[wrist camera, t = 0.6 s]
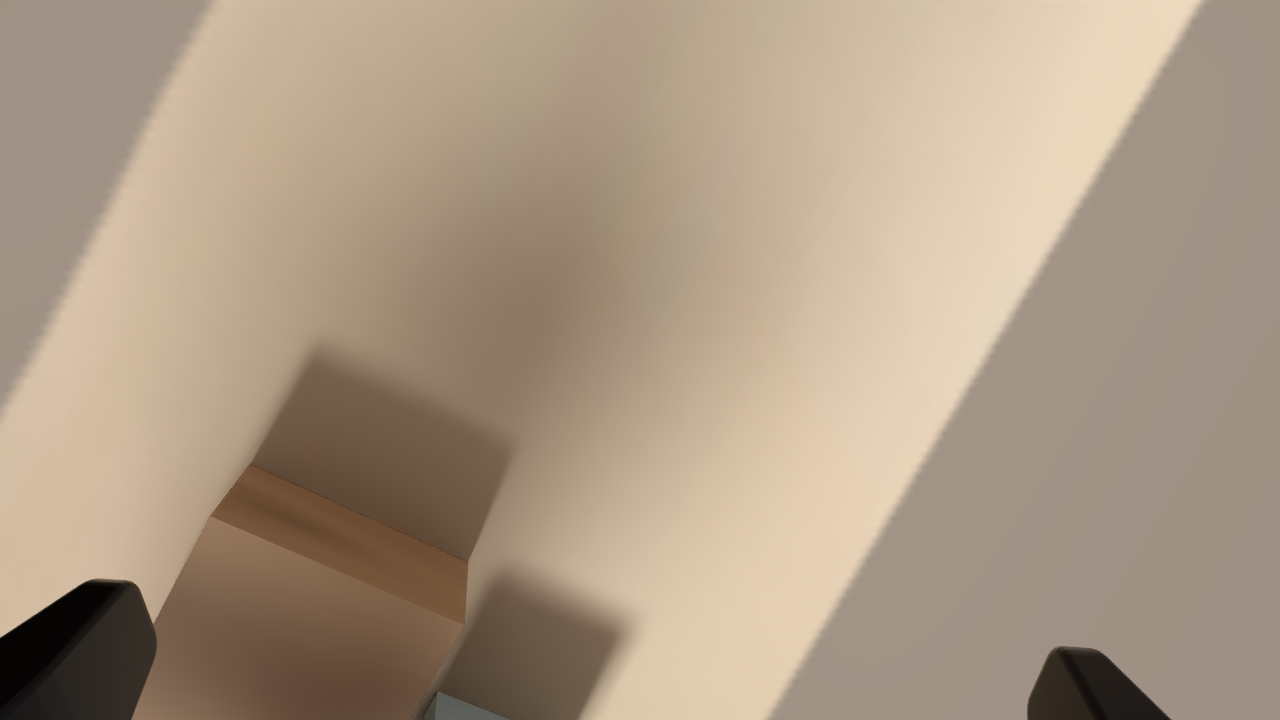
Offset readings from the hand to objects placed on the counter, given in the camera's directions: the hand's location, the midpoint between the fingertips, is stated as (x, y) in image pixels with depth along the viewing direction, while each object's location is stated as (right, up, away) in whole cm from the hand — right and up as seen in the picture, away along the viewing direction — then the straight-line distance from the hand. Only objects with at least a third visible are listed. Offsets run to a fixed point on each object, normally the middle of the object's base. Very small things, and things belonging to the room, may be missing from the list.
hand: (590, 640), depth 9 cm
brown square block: (-8, -4, +15) cm, 17 cm away
